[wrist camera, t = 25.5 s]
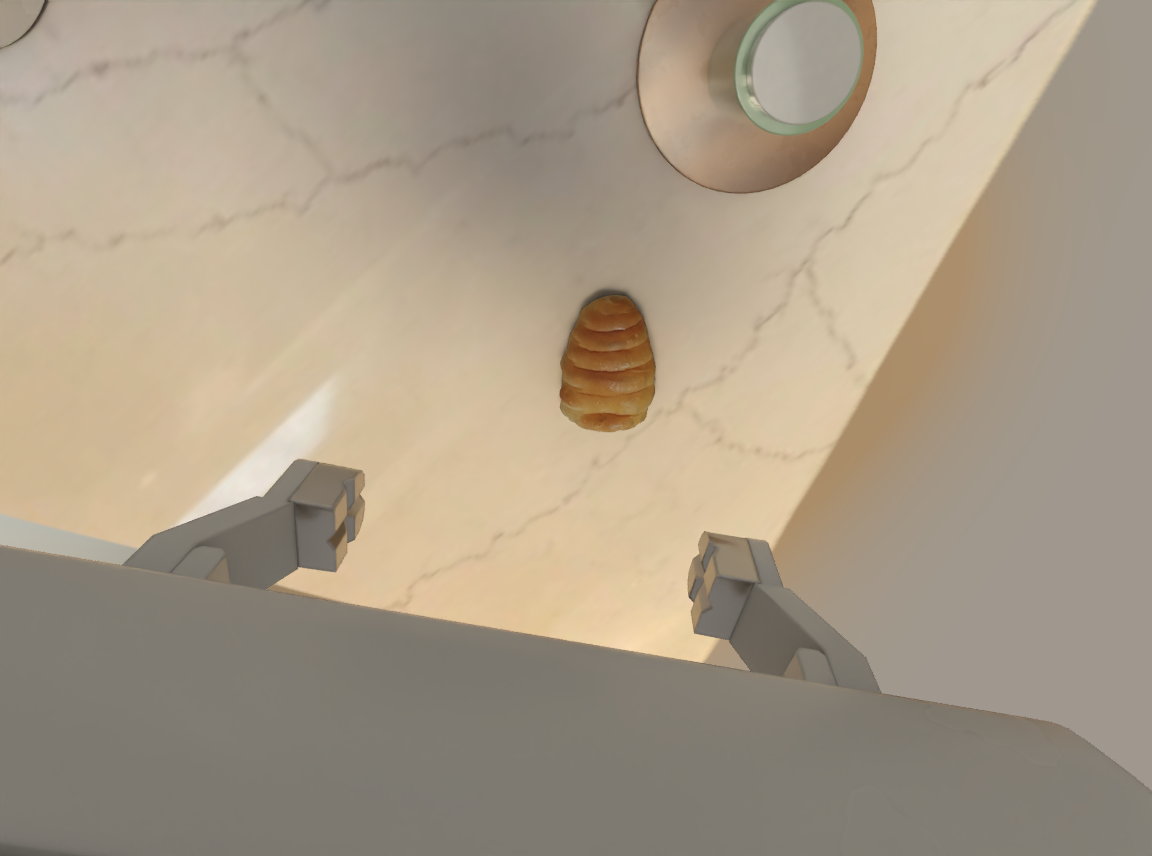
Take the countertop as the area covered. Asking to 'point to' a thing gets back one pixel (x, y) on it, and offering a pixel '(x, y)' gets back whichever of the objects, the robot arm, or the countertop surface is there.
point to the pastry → (608, 367)
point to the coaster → (691, 120)
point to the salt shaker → (787, 65)
